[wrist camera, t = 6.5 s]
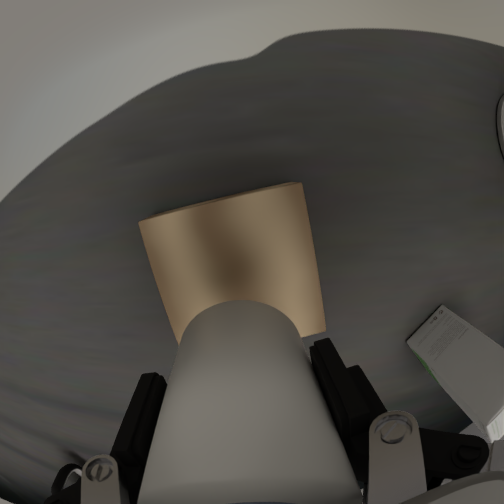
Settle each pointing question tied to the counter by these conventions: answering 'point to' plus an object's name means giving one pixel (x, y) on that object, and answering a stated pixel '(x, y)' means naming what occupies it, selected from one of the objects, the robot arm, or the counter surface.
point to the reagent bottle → (245, 418)
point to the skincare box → (464, 367)
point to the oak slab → (237, 256)
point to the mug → (64, 477)
